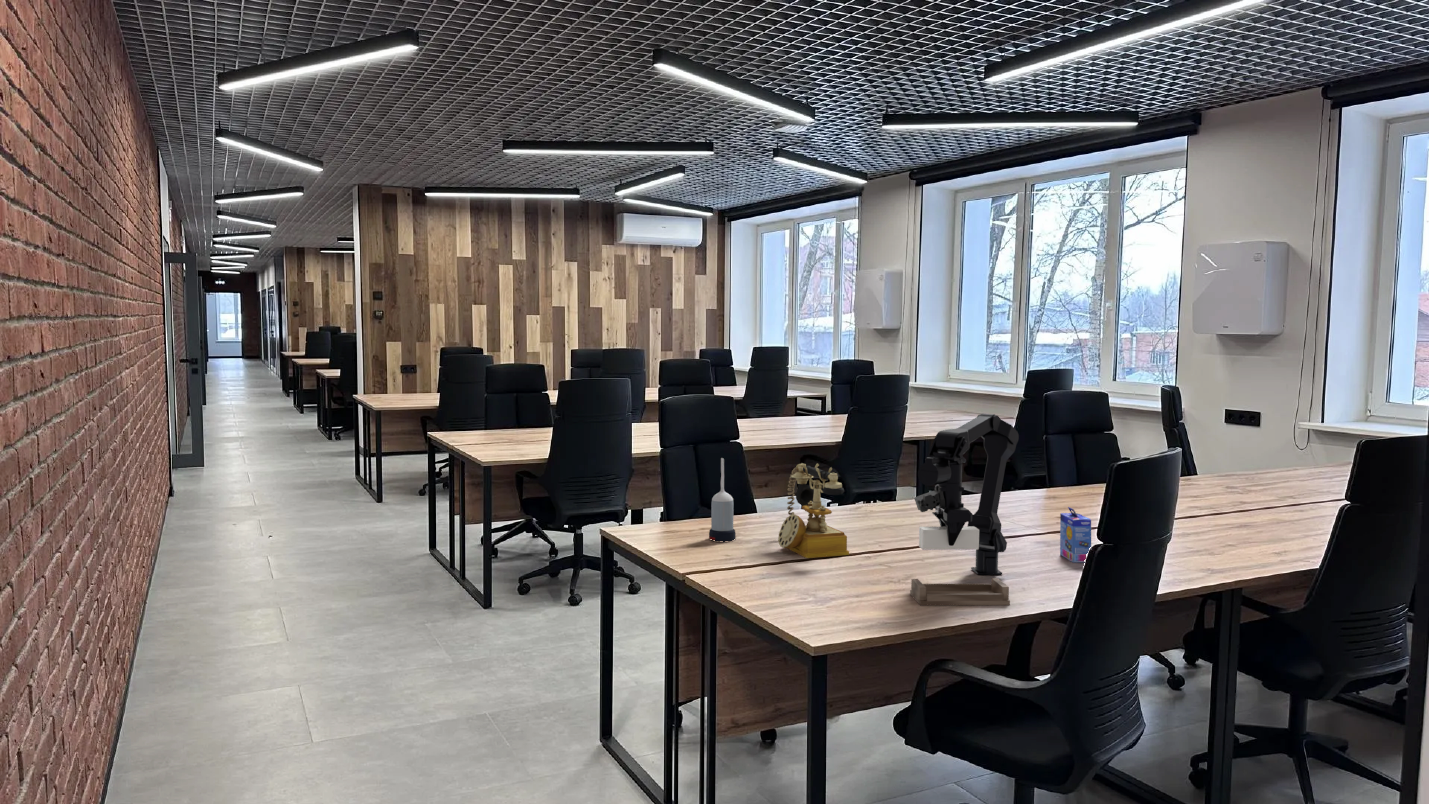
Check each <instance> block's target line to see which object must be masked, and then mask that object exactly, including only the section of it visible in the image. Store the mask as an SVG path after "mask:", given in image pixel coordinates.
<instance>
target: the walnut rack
mask: <svg viewBox="0 0 1429 804" xmlns="http://www.w3.org/2000/svg"><path fill="white" fill-rule="evenodd" d="M910 582H911V587H910V588H911V589H910V590H909V591H910V592H909V594H910V596H911V597H912V598H913V597H914V598H913V599H914V600H915V601H916V602H917V603H918V605H920V606H1011V600H1010V599H1009V597H1010V596H1009V593H1010V592H1009V591H1010V586H1009V585H1007V584H1006V583H1005V582H1003V581H1002V580H1000V579H999V578H996V577H994V578H993V577H992V578H991V583H981V582H980V583H922V582H921V580H919V578H911V581H910Z"/></svg>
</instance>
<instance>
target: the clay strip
mask: <svg viewBox="0 0 1429 804" xmlns="http://www.w3.org/2000/svg"><path fill="white" fill-rule="evenodd" d="M918 547H919V548H920V549H922V550H923V551H930V550H932V551H940V550H941V551H943V550H944V551H948V550H949V551H950V550H952V551H953V550H955V551H957V550H961V551H962V550H965V551H966V550H968V551H969V550H975V551H976V550H979V529H977V528H976V527H974V526H968V525H967V526H965V525H964V526H963V528H962V530H961V532H960V533H959V535H958V537H957V539H956V541H955V543H954V545H953V546H950V545H949V543H948V536H947V529H946V527H941V526H919V527H918Z"/></svg>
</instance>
